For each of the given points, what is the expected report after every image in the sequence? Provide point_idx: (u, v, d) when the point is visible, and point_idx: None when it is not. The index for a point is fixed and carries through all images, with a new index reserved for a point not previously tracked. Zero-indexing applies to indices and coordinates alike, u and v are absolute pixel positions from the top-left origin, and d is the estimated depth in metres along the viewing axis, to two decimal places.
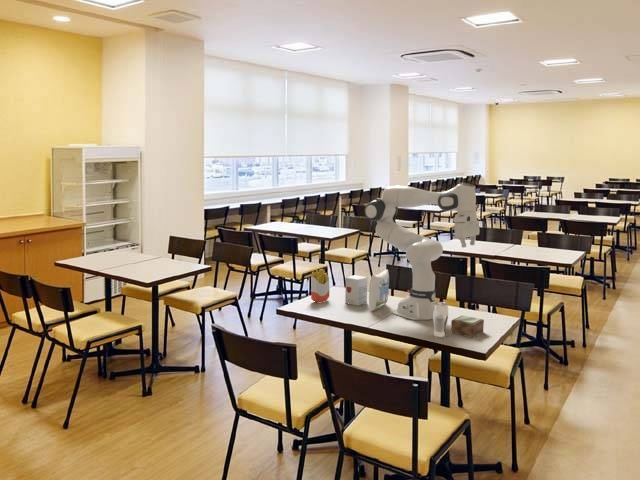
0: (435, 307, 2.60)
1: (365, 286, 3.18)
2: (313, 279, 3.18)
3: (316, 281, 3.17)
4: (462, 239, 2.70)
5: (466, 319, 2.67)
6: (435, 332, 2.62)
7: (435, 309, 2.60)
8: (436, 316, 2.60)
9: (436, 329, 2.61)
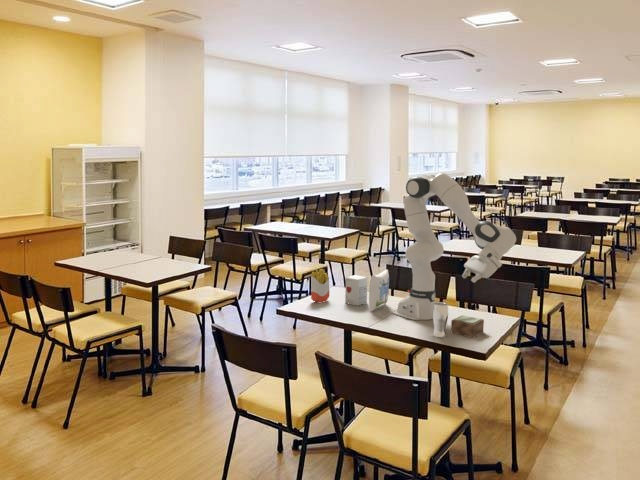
0: (435, 307, 2.60)
1: (365, 286, 3.18)
2: (313, 279, 3.18)
3: (316, 281, 3.17)
4: (480, 276, 2.56)
5: (466, 319, 2.67)
6: (435, 332, 2.62)
7: (435, 309, 2.60)
8: (436, 316, 2.60)
9: (436, 329, 2.61)
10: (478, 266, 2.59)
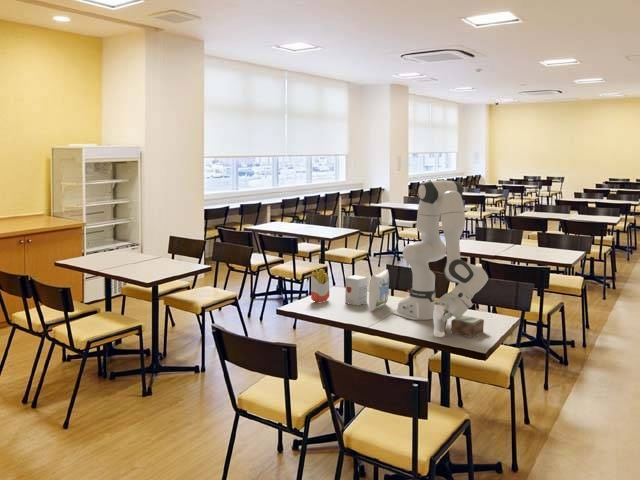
0: (435, 307, 2.60)
1: (365, 286, 3.18)
2: (313, 279, 3.18)
3: (316, 281, 3.17)
4: (450, 315, 2.57)
5: (466, 319, 2.67)
6: (435, 332, 2.62)
7: (435, 309, 2.60)
8: (436, 316, 2.60)
9: (436, 329, 2.61)
10: (449, 305, 2.59)
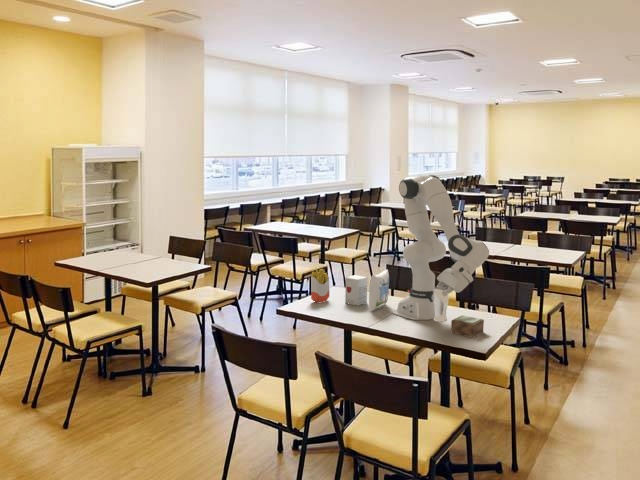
0: (435, 291, 2.59)
1: (365, 286, 3.18)
2: (313, 279, 3.18)
3: (316, 281, 3.17)
4: (450, 290, 2.55)
5: (466, 319, 2.67)
6: (435, 316, 2.61)
7: (435, 293, 2.59)
8: (436, 300, 2.59)
9: (436, 313, 2.61)
10: (450, 280, 2.58)
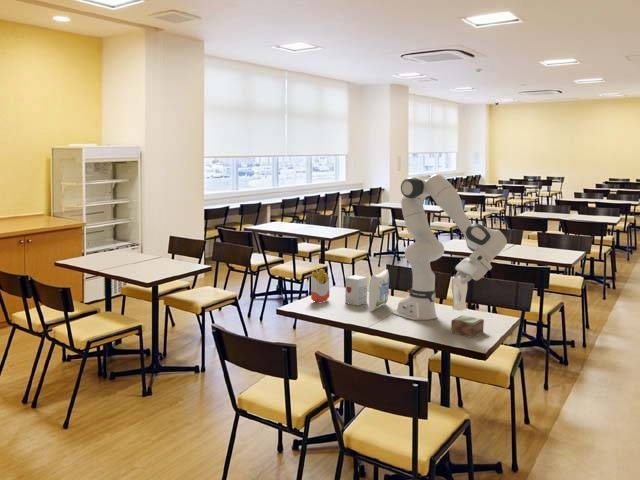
0: (454, 280, 2.62)
1: (365, 286, 3.18)
2: (313, 279, 3.18)
3: (316, 281, 3.17)
4: (469, 278, 2.58)
5: (466, 319, 2.67)
6: (454, 305, 2.64)
7: (454, 282, 2.62)
8: (455, 289, 2.61)
9: (455, 302, 2.63)
10: (469, 269, 2.60)
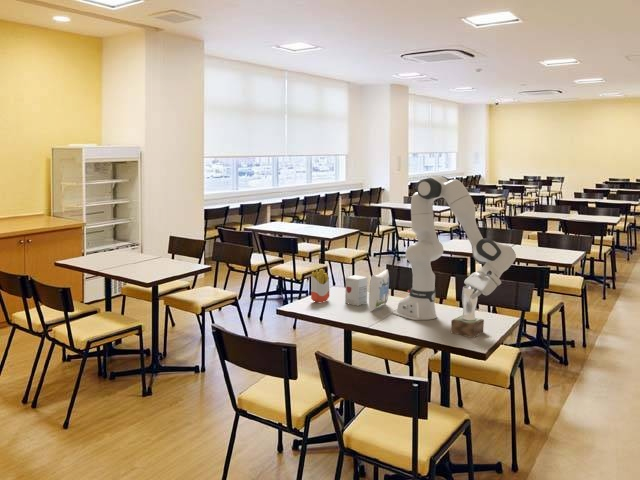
0: (465, 290, 2.65)
1: (365, 286, 3.18)
2: (313, 279, 3.18)
3: (316, 281, 3.17)
4: (479, 293, 2.61)
5: None
6: (464, 315, 2.67)
7: (465, 292, 2.65)
8: (465, 299, 2.64)
9: (465, 312, 2.66)
10: (478, 283, 2.63)
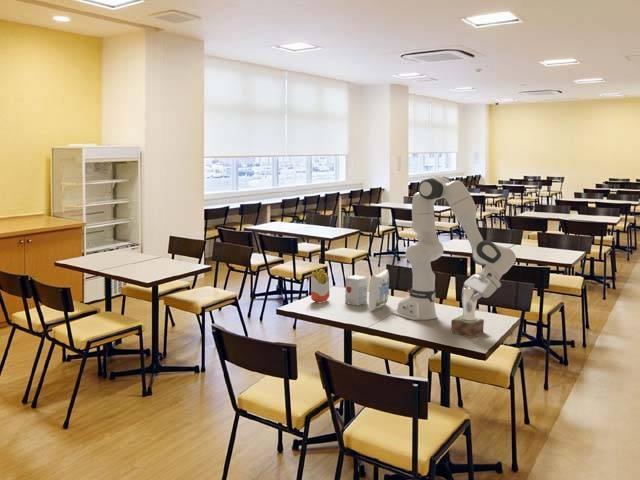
0: (464, 290, 2.65)
1: (365, 286, 3.18)
2: (313, 279, 3.18)
3: (316, 281, 3.17)
4: (480, 295, 2.60)
5: None
6: (464, 315, 2.67)
7: (464, 292, 2.65)
8: (465, 299, 2.65)
9: (465, 312, 2.66)
10: (478, 286, 2.64)
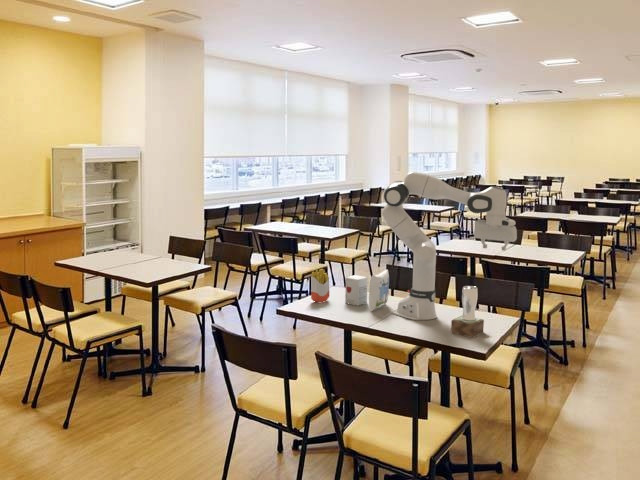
0: (464, 290, 2.65)
1: (365, 286, 3.18)
2: (313, 279, 3.18)
3: (316, 281, 3.17)
4: (508, 242, 2.74)
5: None
6: (464, 315, 2.67)
7: (464, 292, 2.65)
8: (465, 299, 2.65)
9: (465, 312, 2.66)
10: (499, 235, 2.74)
